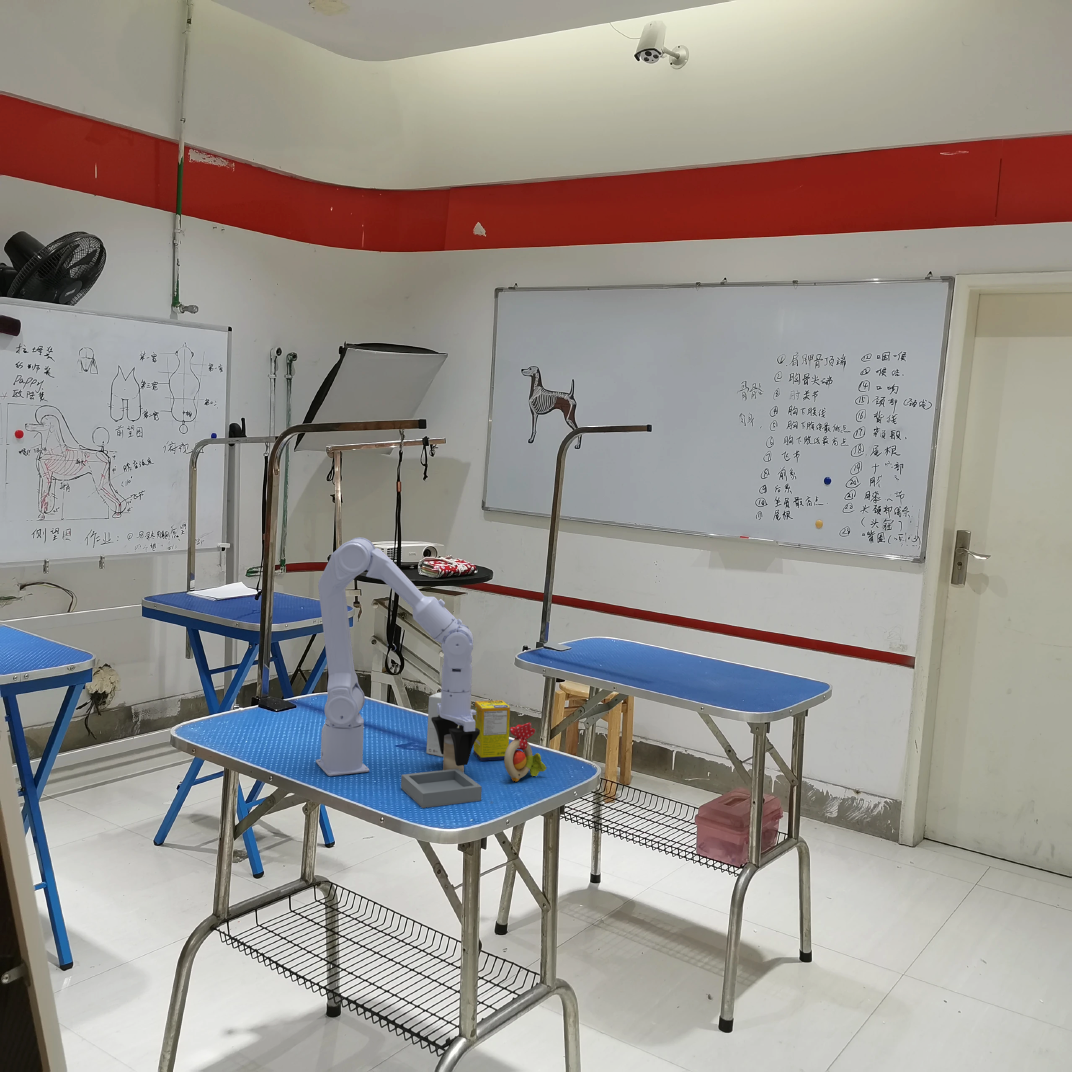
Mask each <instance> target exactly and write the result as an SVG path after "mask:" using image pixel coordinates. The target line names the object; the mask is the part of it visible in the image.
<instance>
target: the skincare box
mask: <svg viewBox="0 0 1072 1072" xmlns="http://www.w3.org/2000/svg"><path fill="white" fill-rule="evenodd" d="M438 703H441V692H436V693H434V694H431V695H430V696H429V695H428V710H427V713H428V714H427V734H426V735H427V736H426V754H428V755H434V756H438V757H444V754H441V751H440V746H439V741H438V736H437V732H436V729H435V727H434V724H433V722H432V720H431V718H432V717H438V715H439V714H438V713H437V704H438ZM457 728H459V725H458V727H457Z"/></svg>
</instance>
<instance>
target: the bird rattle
mask: <svg viewBox="0 0 1072 1072" xmlns="http://www.w3.org/2000/svg"><path fill="white" fill-rule="evenodd" d="M535 732H536V729H535V728H532V723H531V722H530V721H529V722H526V723H524V724H517V725H516V726H511V727H509V733H510V734H511V735H512V736H514V739H513V740H512V741H511V742H509V746H508V747H507V749H506V752H505V757H504V759H503V760H504V761H503V762H504V768H505V771H506V772H507V774H508V776H509V777H510V778H511V780H512V782H514V781H515V782H514V783H516V782H518V781H520V780H521V778H523V777H525V776H526V775H527V774H528V773H530V775H531V777H533V776H538V775H539V773H541V772H545V771H546V770H547V768H548V767H547V766H546V764H544V762H543V761H542V755H541V754H540V753H538V752H537V753H535V754H534V755H533V750H532V746H531V745H530V743H529V742H528V739H530V738H531V737H532V736H534V734H535Z"/></svg>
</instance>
